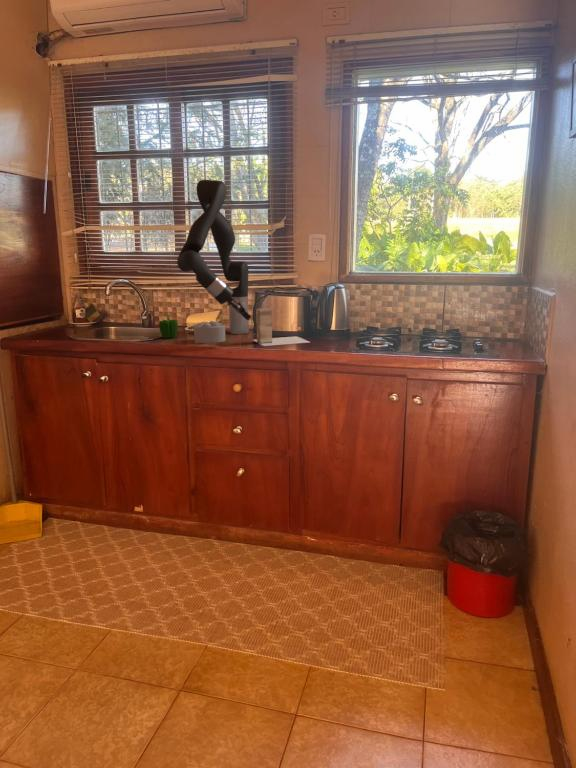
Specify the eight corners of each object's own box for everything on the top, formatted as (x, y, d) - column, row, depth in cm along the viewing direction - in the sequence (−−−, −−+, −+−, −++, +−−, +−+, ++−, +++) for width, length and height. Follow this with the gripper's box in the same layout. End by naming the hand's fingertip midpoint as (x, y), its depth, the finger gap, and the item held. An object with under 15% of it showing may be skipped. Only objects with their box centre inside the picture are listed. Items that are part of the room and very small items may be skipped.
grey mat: (252, 341, 239) (252, 339, 239) (296, 337, 246) (296, 336, 246) (263, 347, 224) (263, 345, 224) (310, 343, 232) (310, 342, 232)
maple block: (257, 341, 234) (256, 308, 230) (268, 340, 236) (267, 308, 232) (260, 343, 229) (260, 310, 226) (272, 342, 231) (271, 309, 228)
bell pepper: (175, 339, 245) (173, 317, 243) (157, 339, 246) (156, 316, 244) (181, 336, 253) (180, 314, 251) (164, 335, 254) (163, 314, 252)
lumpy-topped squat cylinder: (201, 339, 245) (200, 320, 243) (228, 340, 242) (228, 320, 240) (192, 343, 235) (191, 323, 233) (221, 344, 232) (220, 324, 230)
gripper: (229, 284, 215) (259, 313, 222) (221, 281, 227) (250, 310, 234) (216, 298, 214) (247, 327, 221) (209, 295, 226) (238, 323, 233)
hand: (249, 318), depth 228 cm, fingers closed
